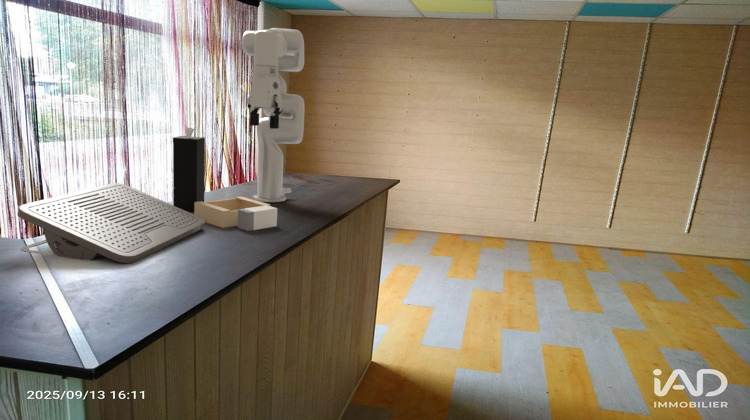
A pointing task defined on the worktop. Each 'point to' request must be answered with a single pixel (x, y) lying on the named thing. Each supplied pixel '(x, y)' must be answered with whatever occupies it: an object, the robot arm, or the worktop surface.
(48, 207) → the foot rest
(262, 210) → the capped box
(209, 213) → the carton
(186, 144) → the tissue box
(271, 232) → the worktop surface
